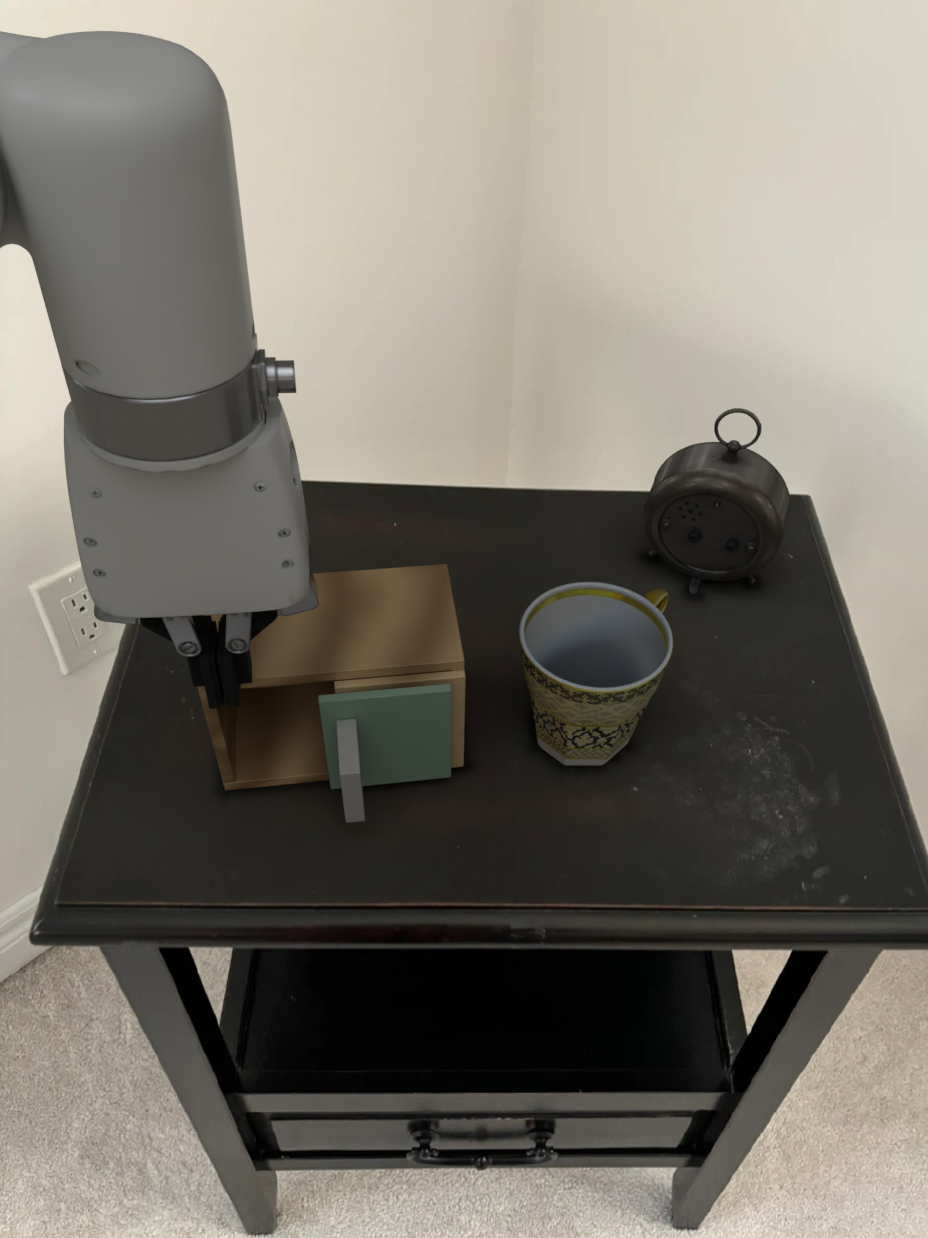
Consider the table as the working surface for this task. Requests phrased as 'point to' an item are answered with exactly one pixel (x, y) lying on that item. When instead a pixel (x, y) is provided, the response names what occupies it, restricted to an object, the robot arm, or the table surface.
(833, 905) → the table surface
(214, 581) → the robot arm
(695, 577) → the alarm clock
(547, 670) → the ceramic cup
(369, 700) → the sliding door
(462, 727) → the cabinet
